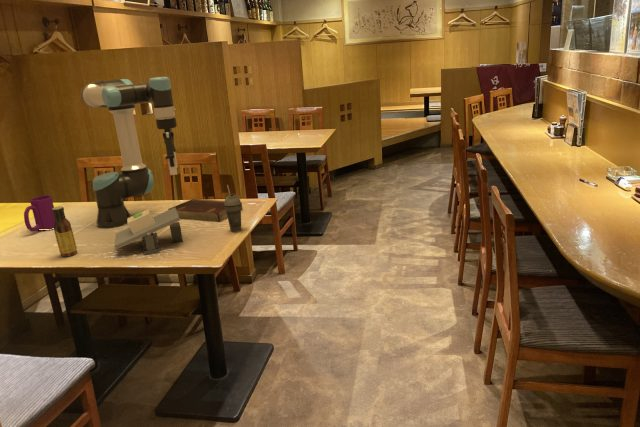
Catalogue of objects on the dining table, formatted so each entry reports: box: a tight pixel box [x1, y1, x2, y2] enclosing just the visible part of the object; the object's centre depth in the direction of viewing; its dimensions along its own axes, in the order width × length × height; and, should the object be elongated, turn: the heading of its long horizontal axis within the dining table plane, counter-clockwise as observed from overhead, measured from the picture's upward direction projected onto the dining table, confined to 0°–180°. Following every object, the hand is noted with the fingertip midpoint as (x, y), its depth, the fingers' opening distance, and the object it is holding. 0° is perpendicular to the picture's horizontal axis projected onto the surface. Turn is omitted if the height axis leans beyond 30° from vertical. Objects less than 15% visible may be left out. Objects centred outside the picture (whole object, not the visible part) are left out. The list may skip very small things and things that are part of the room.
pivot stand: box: [141, 221, 184, 256], centre depth 209 cm, size 16×22×7 cm
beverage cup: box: [223, 184, 242, 233], centre depth 215 cm, size 7×7×20 cm
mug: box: [23, 195, 55, 232], centre depth 236 cm, size 9×16×15 cm, turn 163°
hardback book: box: [167, 198, 243, 223], centre depth 244 cm, size 29×19×5 cm, turn 65°
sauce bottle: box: [52, 205, 78, 257], centre depth 201 cm, size 7×6×20 cm
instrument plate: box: [114, 206, 181, 250], centre depth 205 cm, size 26×16×8 cm, turn 109°
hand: (174, 171), depth 205 cm, fingers open, 13 cm apart
